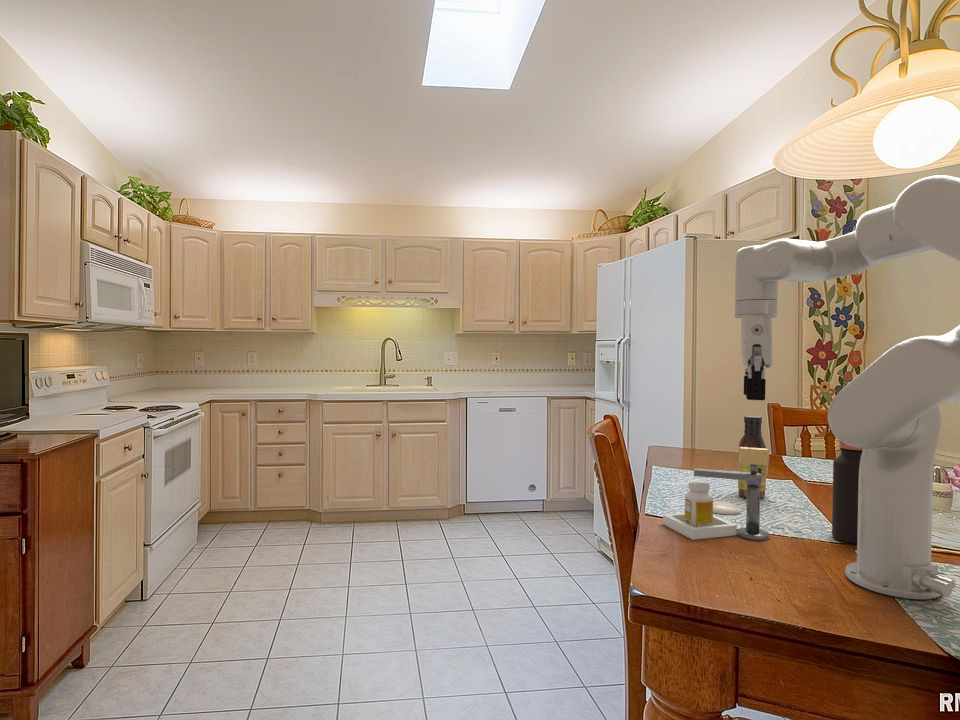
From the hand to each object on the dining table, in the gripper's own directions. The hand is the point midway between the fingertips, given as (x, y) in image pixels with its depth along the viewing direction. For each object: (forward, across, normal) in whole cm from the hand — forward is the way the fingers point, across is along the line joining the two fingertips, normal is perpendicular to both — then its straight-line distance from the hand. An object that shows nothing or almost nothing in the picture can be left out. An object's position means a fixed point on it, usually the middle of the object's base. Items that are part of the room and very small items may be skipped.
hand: (753, 397), depth 114 cm
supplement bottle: (+28, 0, +10) cm, 29 cm away
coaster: (+27, +17, +5) cm, 33 cm away
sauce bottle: (+28, +32, -2) cm, 43 cm away
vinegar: (+28, +4, -18) cm, 33 cm away
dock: (+27, 0, +10) cm, 29 cm away
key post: (+27, 0, 0) cm, 27 cm away
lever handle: (+17, 0, +4) cm, 17 cm away
